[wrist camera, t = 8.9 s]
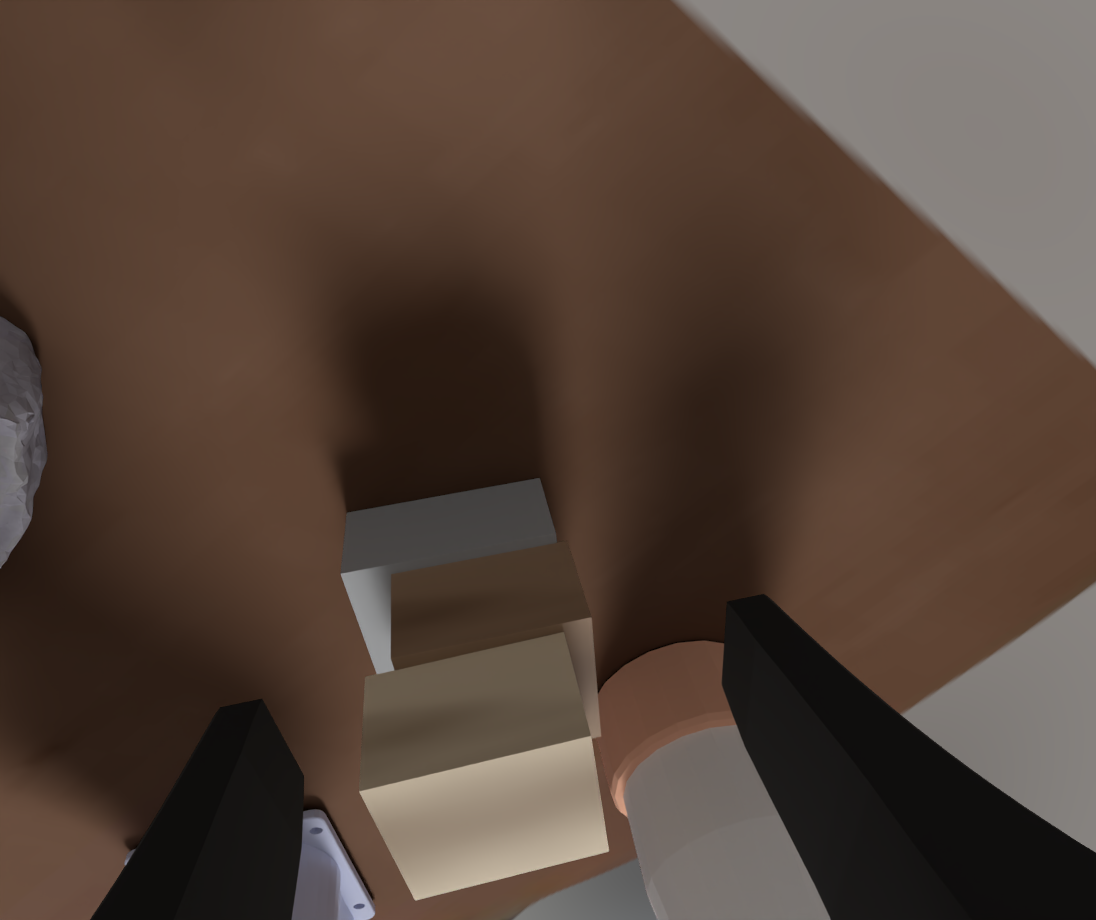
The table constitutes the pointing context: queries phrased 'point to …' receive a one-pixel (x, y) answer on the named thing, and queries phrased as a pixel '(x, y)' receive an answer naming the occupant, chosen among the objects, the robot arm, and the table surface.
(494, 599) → the walnut block
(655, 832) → the pepper shaker
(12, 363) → the stone block
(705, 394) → the table surface
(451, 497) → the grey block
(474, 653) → the oak block
